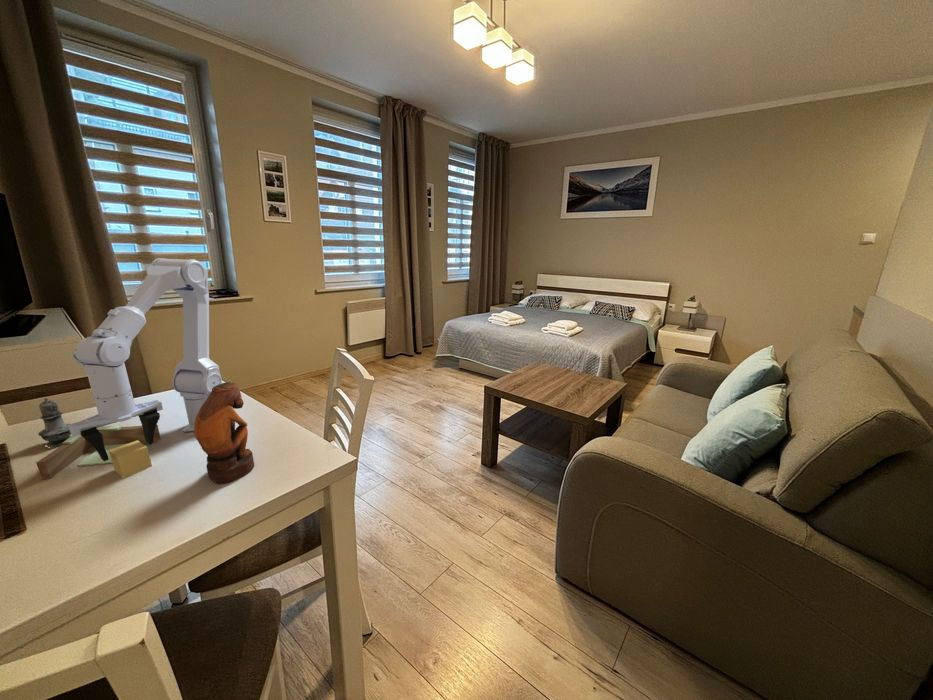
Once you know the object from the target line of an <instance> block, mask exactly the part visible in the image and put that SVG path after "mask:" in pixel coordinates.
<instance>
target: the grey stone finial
mask: <svg viewBox="0 0 933 700" xmlns="http://www.w3.org/2000/svg"><path fill="white" fill-rule="evenodd" d="M38 406H39V410H40V413H41V416H40V420H43V423H44V429H42V430H41V431H39V432H38V433H37V435H38V436H40V437H41V438H42V440H44V441H46V442H47V443H45V445H47V446H48V447H50V448H49V449H57V448H56V447H58V448H59V447H60V446H62V445H63V444H62V443H63V442H64V441H66V440H67V439H69V438H70V437H72V436H73V435H72V434H71V433H70V429H69V426H68V425H69V424H70V423H65V422H64V420H63V416H62V415H63V412H62V411H60V409H59V407H58V403H57V401H55V400H49V398H47V397H44V401H43V402H42V401H41V403H40V404H39V405H38Z"/></svg>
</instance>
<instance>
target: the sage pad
mask: <svg viewBox="0 0 933 700" xmlns="http://www.w3.org/2000/svg"><path fill="white" fill-rule="evenodd" d="M123 445H126V444H117V445H104V447H105V450H106V452H107V455H108V459H109V460H107V461H103V460H102V459H101V457H100V455H99V454H98V452H97V451H96V450H95V451H93V452H92V453H91V454H90V455H89V456H87V457H86V458H85V459H84V460H82V461H81V462H80V463H78V464H77V466H78V467H82V466H92V465H104V464H113V463H112V460H111V456H110V453H109V450H111V449H114V448H117V447H120V446H123Z"/></svg>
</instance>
